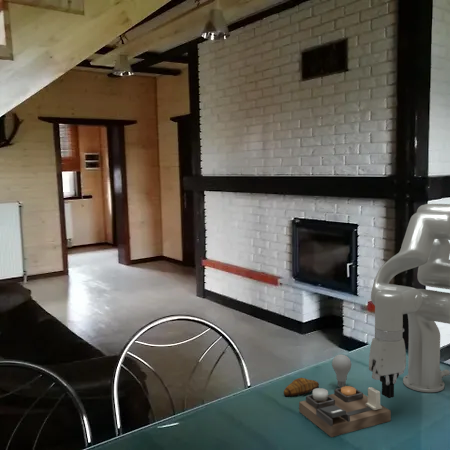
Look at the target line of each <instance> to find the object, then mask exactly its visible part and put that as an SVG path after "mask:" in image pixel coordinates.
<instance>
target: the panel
mask: <svg viewBox="0 0 450 450" xmlns="http://www.w3.org/2000/svg"><path fill="white" fill-rule="evenodd" d="M349 386H350V387H353V386H352V385H349ZM355 389H356V394H355V395H350V396H345V395H344V394H342V393H341V388H340V387H338V388H335V389H334V390H333V391H334V392H333V393H331V394H328V399H327V400H324V401H318V400H315V399H313V393H312V394H309V395H307V394H306V396H305V399H304V400H301V401H299V404H298V406H299V407H298V408H299V409H298V411H299V413H301V414H302V415H303V416H304V417H306V418H307V419H308V420H309V421H310V422H312V423H313V424H314V425H315V426H317V427H318V428H319V429H320V430H322V431H323V432H324V433H325V434H327V435H328V436H329V437H330V438H334V437H337V436H341V435H346V434H348V433H351V432H356V431H359V430H362V429H363V430H364V429H366V428H370V427H373V426H377V425H381V424H383V423H384V424H385V423H388V422H391V421H392V420H391V419H392V418H391V417H392V416H391V414H392V413H391V412H392V411H391V409H389V408H387V407H385V406H384V405H382V404H380V405H381V406H382V409H378V410H373V409H371V408H370V407H368V406H366V403H368V395H366V394H364V393H363V392H362V391H360V390H358V389H357V388H355ZM332 405H333V406H335V407H338V408H340V409H343V410H345V411H346V415H342V416H338V417H335V418H331V417H329V416H327V415H326V414H325V413H323V412H322V411H321V410H320V408H324V407H328V406H332Z"/></svg>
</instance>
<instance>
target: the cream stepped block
mask: <svg viewBox="0 0 450 450" xmlns="http://www.w3.org/2000/svg"><path fill="white" fill-rule="evenodd" d="M367 397H368V403H366V406H368V407H370V408H371V409H373V410H378V409H382V406H383V405H382V404H381V391H379V390H377V389H376V388H374V387H372V386H370V387H368V388H367ZM381 405H382V406H381Z"/></svg>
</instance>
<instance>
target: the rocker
mask: <svg viewBox="0 0 450 450" xmlns="http://www.w3.org/2000/svg"><path fill="white" fill-rule="evenodd" d="M320 410H321V411H322V412H323V413H325V414H326V415H327V416H329V417H331V418H335V417H338V416H342V415H346V411H345V410H343V409H340V408H338V407H335V406H333V405H332V406H328V407H324V408H320Z"/></svg>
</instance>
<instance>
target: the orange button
mask: <svg viewBox="0 0 450 450" xmlns="http://www.w3.org/2000/svg"><path fill="white" fill-rule="evenodd" d="M350 386H351V385H346V386H344V387H342V388H341V393H342V394H344V395H345V396H350V395H355V394H356V389H357V388H355V387H354V386H352V387H350Z"/></svg>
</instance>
